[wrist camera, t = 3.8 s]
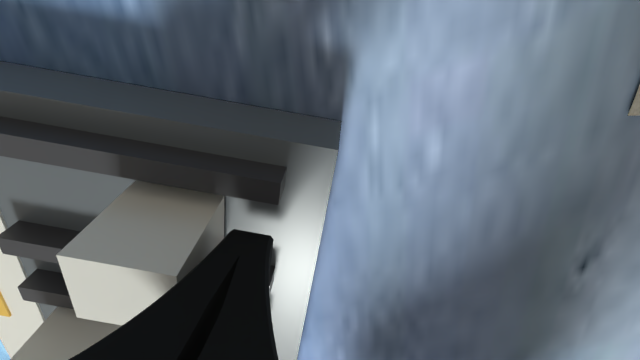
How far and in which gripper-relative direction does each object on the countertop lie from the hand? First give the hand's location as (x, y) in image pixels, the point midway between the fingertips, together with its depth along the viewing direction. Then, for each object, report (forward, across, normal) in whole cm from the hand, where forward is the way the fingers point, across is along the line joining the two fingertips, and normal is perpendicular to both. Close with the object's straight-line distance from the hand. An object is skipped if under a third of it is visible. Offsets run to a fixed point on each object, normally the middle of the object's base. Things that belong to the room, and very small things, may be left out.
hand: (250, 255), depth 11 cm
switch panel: (+4, +5, +7) cm, 10 cm away
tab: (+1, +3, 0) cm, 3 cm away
